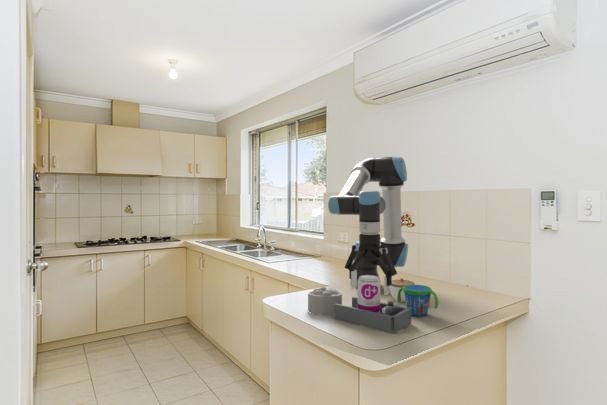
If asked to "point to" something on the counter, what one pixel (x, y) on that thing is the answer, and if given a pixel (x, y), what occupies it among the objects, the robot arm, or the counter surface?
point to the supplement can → (368, 293)
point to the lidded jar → (397, 286)
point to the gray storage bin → (374, 317)
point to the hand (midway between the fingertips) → (369, 291)
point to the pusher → (391, 308)
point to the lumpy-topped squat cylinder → (323, 300)
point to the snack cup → (417, 298)
